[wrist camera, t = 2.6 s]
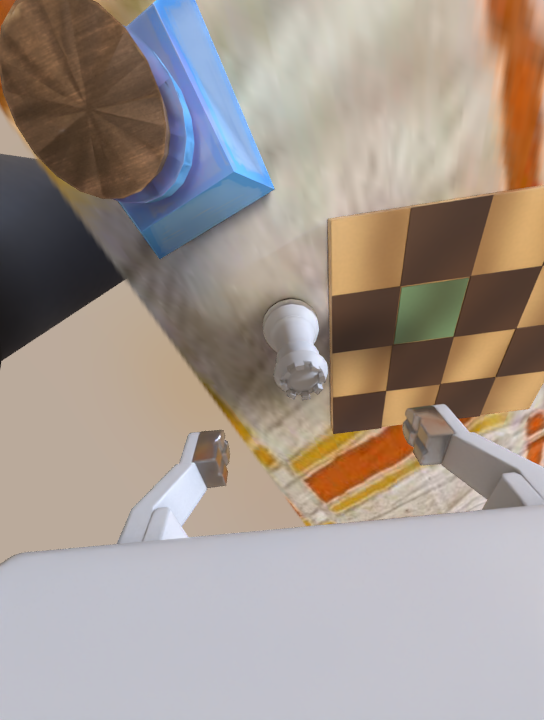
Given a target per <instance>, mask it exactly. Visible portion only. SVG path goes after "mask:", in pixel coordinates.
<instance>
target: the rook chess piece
mask: <svg viewBox="0 0 544 720" xmlns="http://www.w3.org/2000/svg"><path fill="white" fill-rule="evenodd" d="M263 332H264V336H265V339H266V342H267V343H268V344H269V346H270V347H271V348H272V349H273V350H274V351H276V352H277V358H276V363H277V364H276V366H275V369H274V374H273V375H274V379H275V382H276V384H277V385H278V386H279V387H280V388H281V389H282V391H286V392H287V396H288V397H290V398H292V399H295V397H296V395H301V396H302V400H307V399H311V398H310V393H312V392H315V393H316V394H317V395H318V394H319V393H320V392H321V391H322V390H323V387H322V384H323V383H325V381H326V378H327V375H328V365H327V363H326V361H325V360H324V358H323V357H322V356H321V355H319V351H318V350H317V349H316V347H315V346H314V343H315V341H316V339H317V335H318V332H319V326H318V320H317V315H316V313H315V312H314V310H313V309H312V307H311V306H310V305H308V304H306V303H305V302H303V301H301V300H294V299H288V300H284V301H279V302H278V303H276V304H275V305H274V306H272V307H271V308H270V309H269V310H268V312H267V313H266V315H265V316H264V321H263Z"/></svg>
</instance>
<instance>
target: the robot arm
mask: <svg viewBox="0 0 544 720" xmlns="http://www.w3.org/2000/svg"><path fill="white" fill-rule="evenodd" d="M405 416H406V417H407V419H406V420H405V421H404V422H403V434H404V436H405V439H406V441H407V443H408V444H410V445H411V446H413V447H414V449H413V453H414V455H415V457H416V458H417V460H418V462H419V463H420V465H434V464H442V466H444V467H445V468H446V469H448V470H449V471H450V472H452V473H453V474H454V475H456V476H457V477H458V478H460V479H461V480H462V481H463V482H465V483H466V484H467V485H469V486H470V487H471V488H473V489H474V490H475V491H477V492H478V493H479V494H481V495H482V496H483V497H484V498H486V499H487V502H486V503H485V505H484V507H483V509H482V510H477V511H466V512H456V513H445V514H434V515H423V516H413V517H402V518H391V519H380V520H370V521H359V522H348V523H337V524H327V525H316V526H306V527H295V528H284V529H274V530H263V531H252V532H241V533H232V534H220V535H209V536H199V537H188V536H187V534H186V533H185V531H184V530H183V528H182V525H183V524H184V523H185V521H186V520H187V518H188V517H189V515H190V514H191V512H192V511H193V509H194V508H195V506H196V505H197V504H198V502H199V500H200V499H201V498H202V496H203V495H204V493H205V492H206V490H207V488H211V487H218V486H225V485H226V483H227V475H228V471H227V467H226V466H227V465H228V463H229V459H230V450H229V445H228V442H227V441H226V440H225V433H224V430H214V431H204V432H194V433H190V434H189V435H188V437H187V440H186V443H185V446H184V450H183V453H182V456H181V460H180V462H179V464H176V465H175V466H174V467H173V468H172V469H171V470H170V471H169V472H168V473H167V474H166V475H165V476H164V477H163V478H162V479H161V480H160V481H159V482H158V483H157V484H156V485H155V486H154V487H153V488H152V489H151V490H150V491H149V492H148V493H147V494H146V495H145V496H144V497H143V498H142V499H141V500H140V501H139V502H138V503H137V504H136V505H135V506H134V507H133V508H132V510H131V512H130V514H129V516H128V519H127V521H126V524H125V526H124V528H123V531H122V533H121V535H120V538H119V540H118V543H117V544H113V545H101V546H91V547H79V548H69V549H58V550H47V551H35V552H25V553H19V554H16V555H13V556H12V557H10V558H8V559H7V560H5V561H4V562H2V563H1V564H0V720H544V467H542V466H540V465H538V464H536V463H534V462H532V461H530V460H528V459H526V458H524V457H522V456H520V455H518V454H516V453H514V452H512V451H510V450H508V449H506V448H504V447H502V446H500V445H498V444H496V443H494V442H492V441H490V440H488V439H486V438H484V437H482V436H480V435H478V434H476V433H474V432H471V433H470V432H469V431H468V430H467V429H466V427H465V426H464V425H463V424H462V423H461V422H460V421H459V419H458V418H457V417H456V416H455V415H454V414H453V412H452V411H451V410H450V409H449V408H448V407H447V406H446V405H445V404H438V405H431V406H422V407H414V408H407V410H406V412H405Z"/></svg>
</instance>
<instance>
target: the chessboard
mask: <svg viewBox="0 0 544 720" xmlns="http://www.w3.org/2000/svg"><path fill="white" fill-rule="evenodd" d="M328 267H329V328H330V389H331V427H332V431H333V434H336V433H345V432H353V431H361V430H369V429H378V428H381V427H385V426H393V425H402V424H403V422H404V421H405V420H406V419H407V417H406V416H405V412H406V410H407V408H414V407H422V406H431V405H438V404H445V405H446V406H447V407H448V408H449V409H450V410H451V411H452V412H453V414H454V415H455V416H456V417H457V418H458V419H460V418H468V417H476V416H480V415H484V414H492V413H500V412H508V411H516V410H525V409H529V408H530V406H531V404H532V403H533V401H534V399H535V397H536V395H537V394H538V392H539V390H540V388H541V386H542V385H543V383H544V185H540V186H534V187H527V188H521V189H515V190H508V191H502V192H496V193H489V194H483V195H476V196H470V197H464V198H457V199H451V200H444V201H438V202H432V203H425V204H419V205H412V206H406V207H400V208H393V209H387V210H380V211H374V212H368V213H361V214H355V215H349V216H342V217H336V218H329V219H328Z"/></svg>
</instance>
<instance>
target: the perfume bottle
mask: <svg viewBox="0 0 544 720" xmlns="http://www.w3.org/2000/svg"><path fill="white" fill-rule="evenodd" d="M0 77H1V83H2V89H3V93H4V96H5V98H6V101H7V103H8V106H9V108H10V111H11V113H12V116H13V118H14V121H15V123H16V126H17V127H18V129H19V130H20V132H21V133H22V135H23V136H24V138H25V139H26V141H27V142H28V144H29V145H30V147H31V149H32V150H33V152H34V153H35V154H36V155H37V156H38V157H39V158H40V159H41V160H42V162H43V163H44V164H45V165H46V166H47V167H48V168H49V169H50V170H51V171H52V172H53V173H54V174H55V175H56V176H57V177H59V178H61V179H62V180H64V181H65V182H67V183H68V184H70V185H71V186H73V187H74V188H76V189H77V190H79V191H81V192H84V193H87V194H90V195H93V196H96V197H99V198H102V199H114V200H117V201H118V202H119V204H120V205H121V206H122V208H123V209H124V211H125V212H126V213H127V215H128V216H129V218H130V219H131V220H132V222H133V223H134V225H135V226H136V227H137V229H138V230H139V231H140V233H141V234H142V236H143V237H144V238H145V240H146V241H147V243H148V244H149V245H150V247H151V248H152V250H153V251H154V252H155V254H156V255H157V256H158V258H159V259H161V258H163V257H165V256H166V255H168V254H169V253H171V252H173V251H174V250H176V249H178V248H179V247H181V246H183V245H184V244H186V243H187V242H189V241H191V240H192V239H194V238H196V237H197V236H199V235H201V234H202V233H204V232H206V231H207V230H209V229H210V228H212V227H214V226H215V225H217V224H219V223H220V222H222V221H224V220H225V219H227V218H229V217H230V216H232V215H233V214H235V213H237V212H238V211H240V210H242V209H243V208H245V207H247V206H248V205H250V204H251V203H253V202H255V201H256V200H258V199H260V198H261V197H263V196H265V195H266V194H268V193H270V192H271V191H273V190H274V186H273V184H272V182H271V179H270V177H269V174H268V172H267V170H266V167H265V165H264V163H263V160H262V158H261V155H260V153H259V151H258V148H257V146H256V144H255V141H254V139H253V136H252V134H251V132H250V129H249V127H248V125H247V122H246V120H245V118H244V115H243V113H242V110H241V108H240V106H239V103H238V101H237V99H236V96H235V94H234V91H233V89H232V87H231V84H230V82H229V80H228V77H227V75H226V73H225V70H224V68H223V65H222V63H221V61H220V58H219V56H218V54H217V51H216V49H215V46H214V44H213V42H212V39H211V37H210V35H209V32H208V30H207V27H206V25H205V23H204V20H203V18H202V16H201V13H200V11H199V9H198V6H197V4H196V1H195V0H156V1H155V2H154V3H153V4H151V5H150V6H149V7H148V8H147V9H146V10H145V11H144V12H142V13H141V14H140V15H139V16H138V17H137V18H136V19H135V20H133V21H132V22H131V23H130V24H129V25H128V26H127V27H125V26H123V25H122V24H121V23H120V22H118V21H117V20H116V19H115V18H114V17H113V16H112V15H111V14H110V13H109V12H107V11H106V10H105V9H104V8H103V7H102V6H101V5H100V4H99V3H97V2H95V1H93V0H16V1H15V2H14V4H13V6H12V8H11V10H10V11H9V13H8V15H7V17H6V18H5V20H4V22H3V24H2V26H1V32H0Z"/></svg>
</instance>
